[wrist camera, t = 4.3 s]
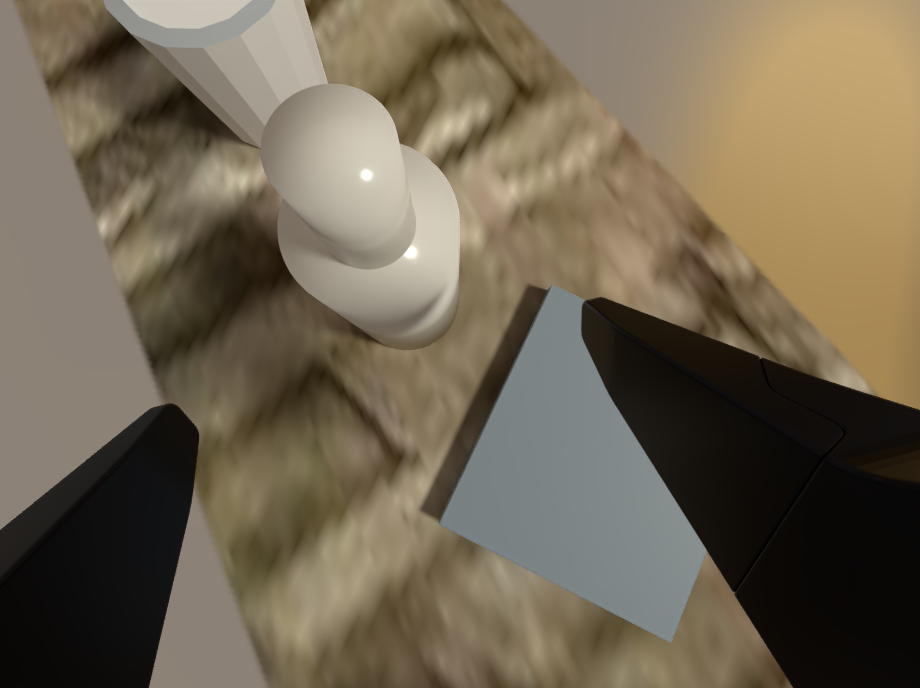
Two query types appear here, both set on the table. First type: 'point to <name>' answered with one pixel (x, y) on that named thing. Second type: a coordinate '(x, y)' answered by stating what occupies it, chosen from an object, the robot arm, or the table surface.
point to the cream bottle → (363, 216)
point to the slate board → (574, 484)
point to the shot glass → (230, 53)
